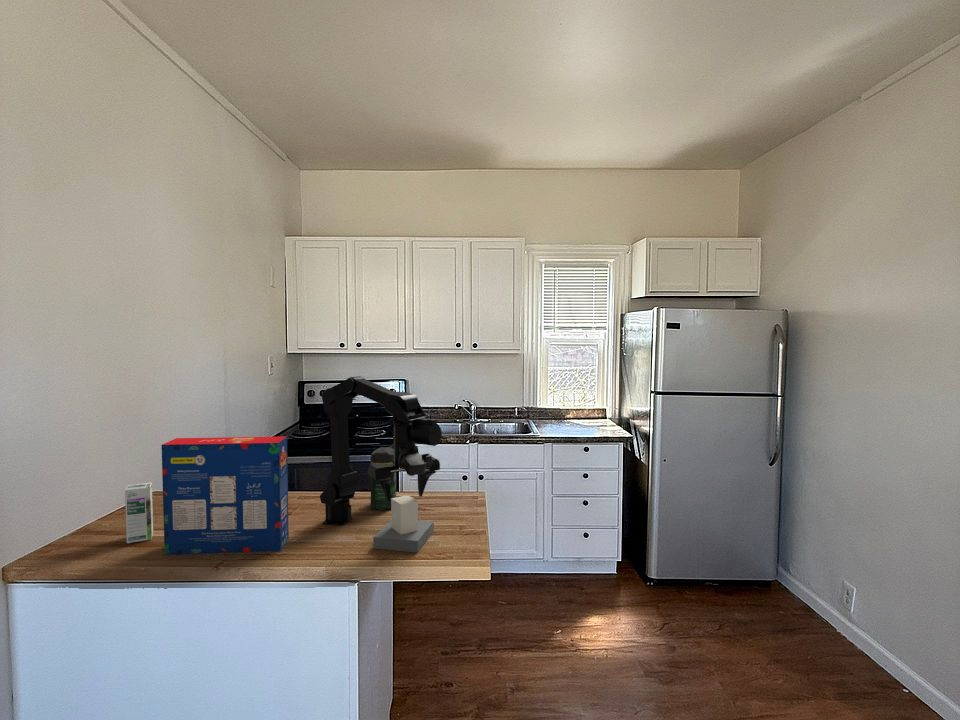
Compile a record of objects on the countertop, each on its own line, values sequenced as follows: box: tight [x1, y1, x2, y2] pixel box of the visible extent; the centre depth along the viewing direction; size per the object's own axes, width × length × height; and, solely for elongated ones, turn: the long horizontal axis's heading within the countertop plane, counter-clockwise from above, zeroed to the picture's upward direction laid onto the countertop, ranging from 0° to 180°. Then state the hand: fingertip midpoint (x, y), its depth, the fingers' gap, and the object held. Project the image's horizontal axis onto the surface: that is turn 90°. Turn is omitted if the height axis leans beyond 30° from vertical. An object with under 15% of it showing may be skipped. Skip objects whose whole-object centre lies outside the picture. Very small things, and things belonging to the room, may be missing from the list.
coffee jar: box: [370, 446, 397, 511], centre depth 169 cm, size 10×8×19 cm
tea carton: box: [390, 495, 419, 534], centre depth 141 cm, size 6×5×8 cm
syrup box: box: [124, 481, 154, 544], centre depth 142 cm, size 6×6×14 cm
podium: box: [373, 519, 435, 554], centre depth 142 cm, size 12×14×3 cm
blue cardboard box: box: [160, 435, 290, 556], centre depth 136 cm, size 28×8×28 cm, turn 96°
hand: (405, 499), depth 141 cm, fingers open, 9 cm apart
